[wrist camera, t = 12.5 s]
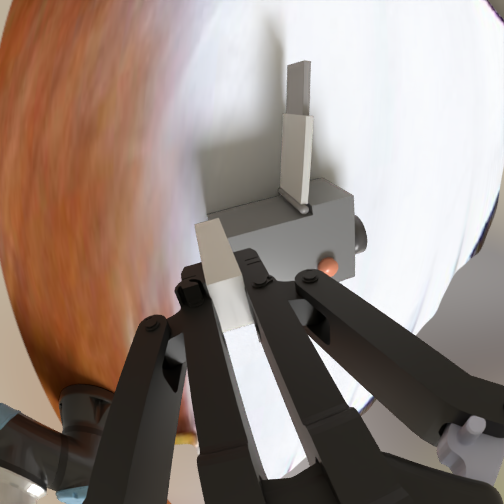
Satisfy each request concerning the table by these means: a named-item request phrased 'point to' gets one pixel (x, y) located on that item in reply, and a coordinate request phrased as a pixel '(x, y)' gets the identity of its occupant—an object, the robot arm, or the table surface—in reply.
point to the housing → (299, 232)
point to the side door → (297, 137)
